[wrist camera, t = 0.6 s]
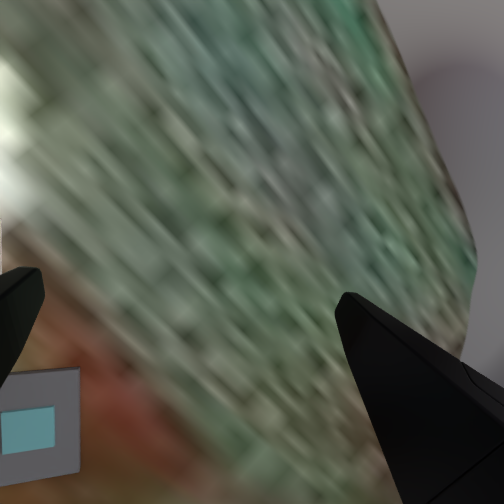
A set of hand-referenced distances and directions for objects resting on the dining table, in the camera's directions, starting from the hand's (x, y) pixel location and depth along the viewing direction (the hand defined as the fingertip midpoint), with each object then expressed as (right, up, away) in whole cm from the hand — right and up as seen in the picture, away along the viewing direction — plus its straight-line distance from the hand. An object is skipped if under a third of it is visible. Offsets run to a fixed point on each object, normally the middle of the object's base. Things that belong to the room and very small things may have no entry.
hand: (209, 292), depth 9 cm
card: (-14, -11, +11) cm, 21 cm away
